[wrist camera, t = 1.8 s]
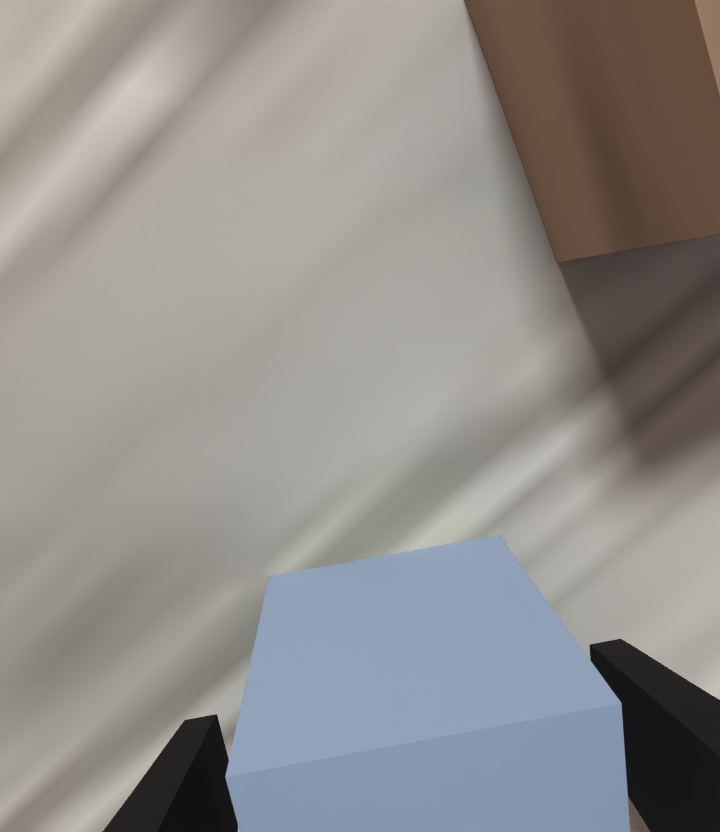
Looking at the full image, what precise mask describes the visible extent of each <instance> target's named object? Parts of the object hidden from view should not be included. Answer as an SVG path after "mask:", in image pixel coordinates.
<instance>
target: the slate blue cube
mask: <svg viewBox="0 0 720 832" xmlns="http://www.w3.org/2000/svg"><path fill="white" fill-rule="evenodd" d="M225 778H226V782H227V785H228V789H229V793H230V797H231V800H232V804H233V808H234V812H235V815H236V819H237V823H238V827H239V830H240V832H630V821H629V806H628V792H627V777H626V763H625V748H624V733H623V719H622V704H621V702H620V700H619V699H618V698H617V696H616V695H615V694H614V692H613V691H612V689H611V688H610V687H609V685H608V684H607V683H606V681H605V680H604V678H603V677H602V676H601V674H600V673H599V672H598V670H597V669H596V667H595V666H594V665H593V663H592V662H591V661H590V659H589V658H588V656H587V655H586V654H585V652H584V651H583V650H582V648H581V647H580V645H579V644H578V643H577V641H576V640H575V639H574V637H573V636H572V634H571V633H570V632H569V630H568V629H567V628H566V626H565V625H564V623H563V622H562V621H561V619H560V618H559V617H558V615H557V614H556V612H555V611H554V610H553V608H552V607H551V606H550V604H549V603H548V601H547V600H546V599H545V597H544V596H543V595H542V593H541V592H540V590H539V589H538V588H537V586H536V585H535V584H534V582H533V581H532V579H531V578H530V577H529V575H528V574H527V573H526V571H525V570H524V568H523V567H522V566H521V564H520V563H519V562H518V560H517V559H516V557H515V556H514V555H513V553H512V552H511V551H510V549H509V548H508V546H507V545H506V544H505V542H504V541H503V540H502V538H501V537H500V535H496V536H491V537H485V538H480V539H474V540H468V541H463V542H457V543H452V544H446V545H441V546H435V547H429V548H424V549H418V550H413V551H407V552H402V553H396V554H390V555H385V556H379V557H374V558H368V559H363V560H357V561H351V562H346V563H340V564H335V565H329V566H324V567H318V568H312V569H307V570H301V571H296V572H290V573H285V574H279V575H273V576H269V580H268V585H267V589H266V594H265V598H264V603H263V608H262V612H261V617H260V621H259V626H258V630H257V635H256V639H255V644H254V649H253V653H252V658H251V662H250V667H249V671H248V676H247V680H246V685H245V690H244V694H243V699H242V703H241V708H240V712H239V717H238V721H237V726H236V730H235V735H234V740H233V744H232V749H231V753H230V758H229V762H228V767H227V771H226V776H225Z"/></svg>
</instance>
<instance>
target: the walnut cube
mask: <svg viewBox="0 0 720 832" xmlns="http://www.w3.org/2000/svg"><path fill="white" fill-rule="evenodd" d="M464 1H465V3H466V6H467V9H468V12H469V15H470V18H471V20H472V23H473V26H474V29H475V32H476V35H477V37H478V40H479V43H480V46H481V49H482V52H483V54H484V57H485V60H486V63H487V66H488V69H489V71H490V74H491V77H492V80H493V83H494V86H495V88H496V91H497V94H498V97H499V100H500V103H501V105H502V108H503V111H504V114H505V117H506V120H507V122H508V125H509V128H510V131H511V134H512V137H513V139H514V142H515V145H516V148H517V151H518V154H519V156H520V159H521V162H522V165H523V168H524V171H525V174H526V176H527V179H528V182H529V185H530V188H531V191H532V193H533V196H534V199H535V202H536V205H537V208H538V210H539V213H540V216H541V219H542V222H543V225H544V227H545V230H546V233H547V236H548V239H549V242H550V244H551V247H552V250H553V253H554V256H555V259H556V261H557V262H562V261H568V260H574V259H580V258H585V257H591V256H597V255H603V254H608V253H614V252H620V251H626V250H632V249H637V248H643V247H649V246H655V245H660V244H666V243H672V242H678V241H683V240H689V239H695V238H701V237H706V236H712V235H718V234H720V0H464Z"/></svg>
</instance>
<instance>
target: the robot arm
mask: <svg viewBox="0 0 720 832" xmlns="http://www.w3.org/2000/svg"><path fill="white" fill-rule="evenodd" d="M590 656H591V662H592V663H593V665H594V666H595V667H596V669H597V670H598V672H599V673H600V674H601V676H602V677H603V678H604V680H605V681H606V683H607V684H608V685H609V687H610V688H611V689H612V691H613V692H614V694H615V695H616V696H617V698H618V699H619V700H620V702H621V704H622V719H623V733H624V748H625V763H626V777H627V792H628V796H629V798H630V799H631V801H632V803H633V804H634V806H635V808H636V809H637V811H638V812H639V814H640V815H641V817H642V819H643V820H644V822H645V823H646V825H647V826H648V828H649V830H650V831H651V832H720V700H719V699H717V698H715V697H714V696H712V695H710V694H709V693H707V692H705V691H704V690H702V689H701V688H699V687H697V686H696V685H694V684H692V683H691V682H689V681H688V680H686V679H684V678H683V677H681V676H680V675H678V674H676V673H675V672H673V671H672V670H670V669H668V668H667V667H665V666H664V665H662V664H661V663H659V662H657V661H656V660H654V659H653V658H651V657H649V656H648V655H646V654H645V653H643V652H641V651H640V650H638V649H637V648H635V647H633V646H632V645H630V644H629V643H627V642H625V641H623V640H622V639H617V640H612V641H607V642H601V643H596V644H591V645H590ZM228 762H229V759H228V755H227V752H226V748H225V744H224V740H223V736H222V733H221V729H220V725H219V721H218V717H217V714H216V715H210V716H205V717H200V718H194V719H189V720H185V721H184V722H183V723H182V725H181V726H180V727H179V729H178V730H177V731H176V733H175V734H174V735H173V737H172V738H171V739H170V741H169V742H168V744H167V745H166V746H165V748H164V749H163V750H162V752H161V753H160V755H159V756H158V757H157V759H156V760H155V762H154V763H153V764H152V766H151V767H150V769H149V770H148V771H147V773H146V774H145V775H144V777H143V778H142V780H141V781H140V782H139V784H138V785H137V786H136V788H135V789H134V791H133V792H132V793H131V795H130V796H129V797H128V799H127V800H126V801H125V803H124V804H123V805H122V807H121V808H120V809H119V811H118V812H117V813H116V815H115V816H114V817H113V819H112V820H111V821H110V823H109V824H108V825H107V827H106V828H105V829H104V831H103V832H237V831H238V823H237V819H236V815H235V812H234V808H233V804H232V800H231V797H230V793H229V789H228V785H227V782H226V778H225V776H226V771H227V767H228Z"/></svg>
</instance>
